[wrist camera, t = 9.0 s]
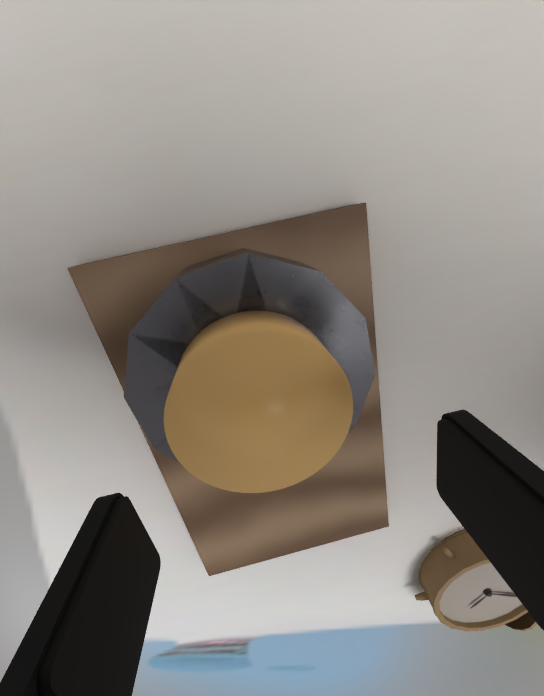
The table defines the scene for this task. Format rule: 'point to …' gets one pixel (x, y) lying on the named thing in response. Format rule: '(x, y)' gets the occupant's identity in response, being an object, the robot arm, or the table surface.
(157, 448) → the grey faceted ring
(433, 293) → the table surface
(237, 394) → the cap
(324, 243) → the mount
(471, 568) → the alarm clock
